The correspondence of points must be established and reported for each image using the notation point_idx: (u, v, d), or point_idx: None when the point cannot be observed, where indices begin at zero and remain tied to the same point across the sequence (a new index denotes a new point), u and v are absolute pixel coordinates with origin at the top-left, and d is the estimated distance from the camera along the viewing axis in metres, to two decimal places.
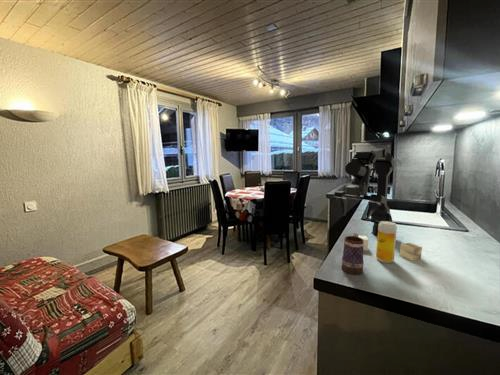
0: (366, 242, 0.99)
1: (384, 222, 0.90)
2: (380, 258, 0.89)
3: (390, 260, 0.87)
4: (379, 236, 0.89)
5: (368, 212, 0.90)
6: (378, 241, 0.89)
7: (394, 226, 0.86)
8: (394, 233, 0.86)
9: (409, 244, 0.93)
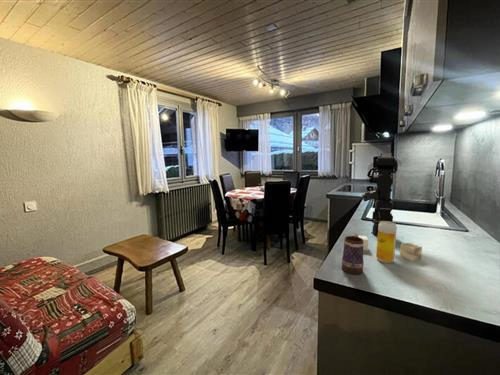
0: (366, 242, 0.99)
1: (384, 222, 0.90)
2: (380, 258, 0.89)
3: (390, 260, 0.87)
4: (379, 236, 0.89)
5: (379, 216, 0.98)
6: (378, 241, 0.89)
7: (394, 226, 0.86)
8: (394, 233, 0.86)
9: (409, 244, 0.93)
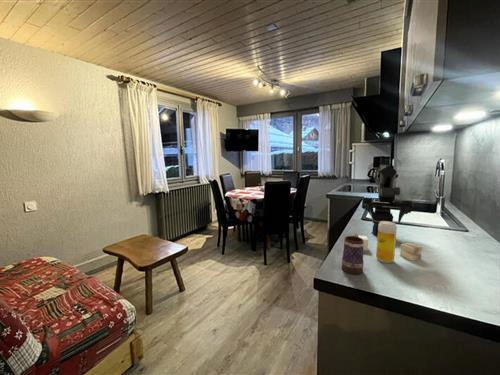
0: (366, 242, 0.99)
1: (384, 222, 0.90)
2: (380, 258, 0.89)
3: (390, 260, 0.87)
4: (379, 236, 0.89)
5: (400, 215, 0.94)
6: (378, 241, 0.89)
7: (394, 226, 0.86)
8: (394, 233, 0.86)
9: (409, 244, 0.93)
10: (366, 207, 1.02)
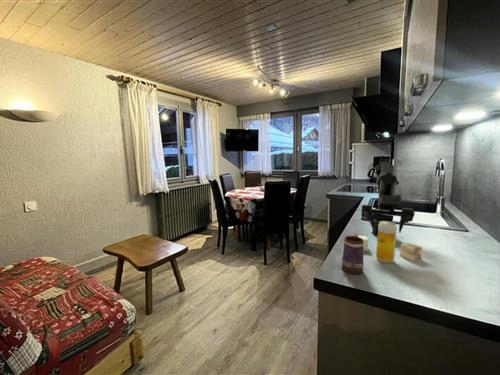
0: (366, 242, 0.99)
1: (384, 222, 0.90)
2: (380, 258, 0.89)
3: (390, 260, 0.87)
4: (379, 236, 0.89)
5: (401, 224, 0.90)
6: (378, 241, 0.89)
7: (394, 226, 0.86)
8: (394, 233, 0.86)
9: (409, 244, 0.93)
10: (366, 215, 0.99)
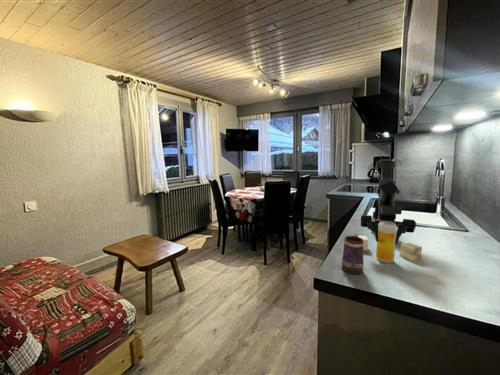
0: (366, 242, 0.99)
1: (384, 222, 0.90)
2: (380, 258, 0.89)
3: (390, 260, 0.87)
4: (379, 236, 0.89)
5: (398, 235, 0.87)
6: (378, 241, 0.89)
7: (394, 226, 0.86)
8: (394, 233, 0.86)
9: (409, 244, 0.93)
10: (369, 226, 0.95)
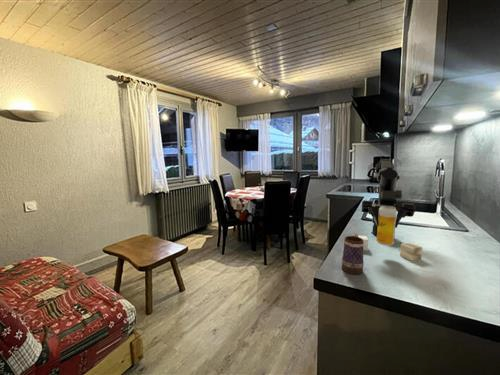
0: (366, 242, 0.99)
1: (384, 207, 0.92)
2: (380, 241, 0.92)
3: (390, 243, 0.90)
4: (379, 220, 0.92)
5: (398, 219, 0.90)
6: (378, 225, 0.92)
7: (394, 210, 0.89)
8: (394, 217, 0.89)
9: (409, 244, 0.93)
10: (370, 211, 0.97)
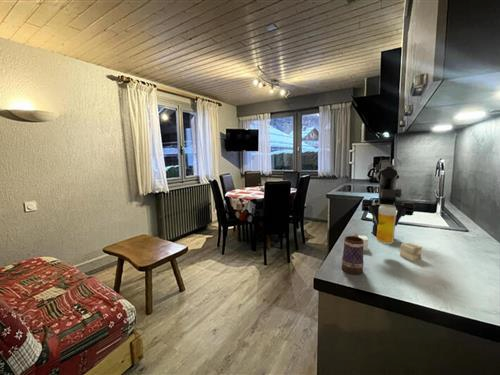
0: (366, 242, 0.99)
1: (384, 205, 0.93)
2: (380, 240, 0.92)
3: (390, 241, 0.91)
4: (379, 218, 0.92)
5: (397, 218, 0.91)
6: (378, 224, 0.93)
7: (394, 208, 0.90)
8: (394, 215, 0.90)
9: (409, 244, 0.93)
10: (370, 210, 0.98)
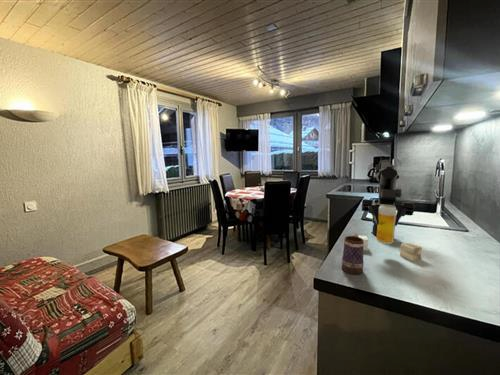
0: (366, 242, 0.99)
1: (384, 205, 0.93)
2: (380, 240, 0.92)
3: (390, 241, 0.91)
4: (379, 218, 0.92)
5: (397, 218, 0.91)
6: (378, 224, 0.93)
7: (394, 208, 0.90)
8: (394, 215, 0.90)
9: (409, 244, 0.93)
10: (370, 210, 0.98)
